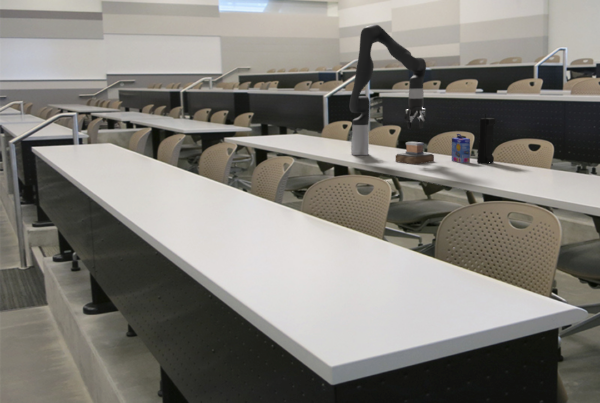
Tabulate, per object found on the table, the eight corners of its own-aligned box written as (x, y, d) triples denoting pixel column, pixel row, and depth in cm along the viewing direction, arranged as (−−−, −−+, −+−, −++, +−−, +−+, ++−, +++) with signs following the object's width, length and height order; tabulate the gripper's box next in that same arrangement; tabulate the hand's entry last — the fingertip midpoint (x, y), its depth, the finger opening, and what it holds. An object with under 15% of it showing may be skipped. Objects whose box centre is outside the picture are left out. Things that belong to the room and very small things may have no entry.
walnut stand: (395, 161, 338) (395, 154, 337) (413, 159, 346) (414, 151, 345) (415, 164, 327) (415, 156, 326) (433, 161, 335) (434, 153, 334)
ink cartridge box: (450, 160, 336) (451, 133, 334) (459, 160, 338) (460, 132, 335) (460, 163, 327) (461, 134, 324) (470, 162, 329) (471, 134, 326)
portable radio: (484, 161, 331) (485, 112, 326) (494, 162, 327) (496, 113, 322) (476, 163, 325) (477, 113, 321) (487, 164, 321) (488, 114, 316)
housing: (417, 155, 331) (417, 143, 330) (405, 153, 337) (405, 142, 336) (423, 154, 334) (423, 142, 333) (412, 152, 340) (412, 141, 339)
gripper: (411, 98, 323) (411, 130, 326) (430, 97, 331) (430, 128, 335) (401, 97, 329) (400, 129, 332) (419, 96, 337) (419, 127, 340)
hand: (415, 129), depth 333 cm, fingers open, 8 cm apart
